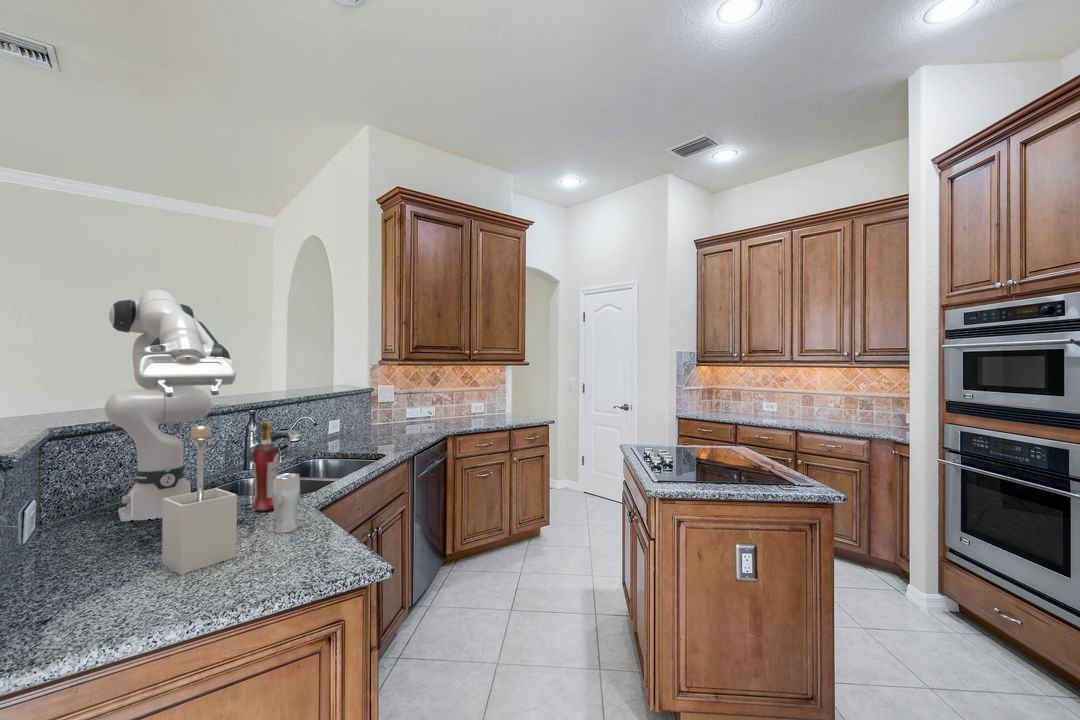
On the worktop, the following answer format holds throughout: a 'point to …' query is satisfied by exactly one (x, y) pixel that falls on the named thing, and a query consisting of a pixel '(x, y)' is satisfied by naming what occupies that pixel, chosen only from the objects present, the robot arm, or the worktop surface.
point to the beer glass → (285, 501)
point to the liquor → (265, 470)
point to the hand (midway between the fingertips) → (192, 394)
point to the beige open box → (199, 530)
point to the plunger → (200, 456)
